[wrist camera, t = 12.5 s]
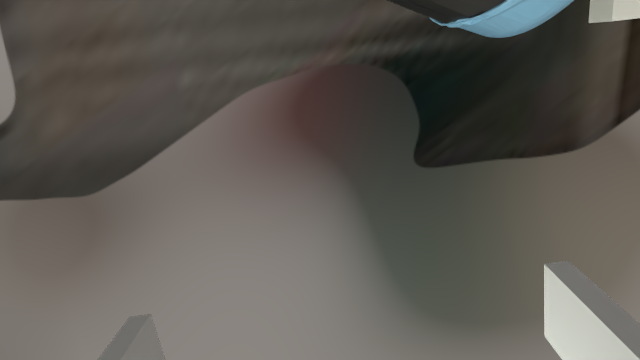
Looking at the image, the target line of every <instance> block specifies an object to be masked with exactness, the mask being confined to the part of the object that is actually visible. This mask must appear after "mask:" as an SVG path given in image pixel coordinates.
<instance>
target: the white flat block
mask: <svg viewBox="0 0 640 360" xmlns="http://www.w3.org/2000/svg"><path fill="white" fill-rule="evenodd" d="M636 18H640V0H590V10H589V23H596V22H609V21H618V20H627V19H636Z"/></svg>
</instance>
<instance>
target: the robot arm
mask: <svg viewBox="0 0 640 360" xmlns="http://www.w3.org/2000/svg"><path fill="white" fill-rule="evenodd" d="M387 1H390V2H392V3H395V4H397V5H400V6H402V7H405V8H407V9H410V10H412V11H415V12H417V13H420V14H422V15H425V16H427V17H429V18H430V19H431V20H432V21H433V22H435V23H437V24H439V25H442V26H444V25H446V26H448V27H459V28H462V29H465V30H468V31H471V32H474V33H477V34H480V35H483V36H486V37H496V38H503V37H510V36H514V35H518V34H521V33H524V32H526V31H529V30H531V29H533V28H535V27H537V26H539V25H540V24H542V23H544V22H546V21H547V20H549V19H550V18H552V17H553V16H555V15H556V14H557V13H559V12H560V11H561V10H563V9H564V8H565V7H567V6H568V5H569V4H570V3H571V2H573V1H574V0H387ZM544 299H545V300H544V313H545V314H544V316H545V319H544V320H545V337H546V339H547V340H548V341H549V343H550V344H551V345H552V347H553V348H554V349H555V351H556V352H557V353H558V354H559V356H560V357H561V359H562V360H640V324H639V323H638V322H637V321H636V320H635V319H634V318H633V317H632V316H630V315H629V314H628V313H627V312H626V311H625V310H624V309H622V308H621V307H620V306H619V305H618V304H617V303H616V302H615V301H613V300H612V299H611V298H610V297H609V296H608V295H607V294H605V293H604V292H603V291H602V290H601V289H600V288H599V287H598V286H597V285H595V284H594V283H593V282H592V281H591V280H590V279H589V278H587V277H586V276H585V275H584V274H583V273H582V272H581V271H580V270H578V269H577V268H576V267H575V266H574V265H573V264H572V263H571V262H569V261H564V262H556V263H548V264H544ZM98 360H165V357H164V354H163V351H162V348H161V345H160V341H159V338H158V335H157V332H156V328H155V325H154V322H153V319H152V316H151V314H147V315H139V316H131V317H129V318H128V319H127V321H126V322H125V323H124V325H123V326H122V327H121V329H120V330H119V332H118V333H117V334H116V335H115V337H114V338H113V340H112V341H111V342H110V344H109V345H108V346H107V348H106V349H105V350H104V352H103V353H102V355H101V356H100V357H99V358H98Z"/></svg>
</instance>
